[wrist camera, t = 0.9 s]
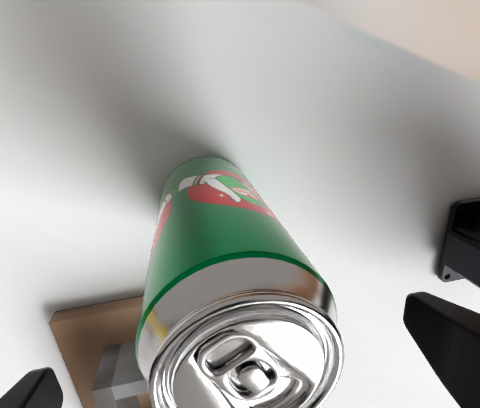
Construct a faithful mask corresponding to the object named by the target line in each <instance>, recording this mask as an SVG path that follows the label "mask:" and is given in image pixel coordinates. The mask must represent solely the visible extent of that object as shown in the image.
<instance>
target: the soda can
mask: <svg viewBox="0 0 480 408" xmlns="http://www.w3.org/2000/svg"><path fill="white" fill-rule="evenodd" d="M135 348H136V358H137V363H138V367H139V369H140V371H141V373H142V375H143V378H144V379H145V381H146V382H147V391H148V396H149V400H150V405H151V407H152V408H319V407H320V406H321V405H322V404H323V403H324V402H325V401H326V399H327V398H328V397H329V395H330V394H331V392H332V391H333V389H334V388H335V386H336V384H337V382H338V380H339V378H340V374H341V371H342V368H343V361H344V348H343V342H342V339H341V335H340V332H339V330H338V328H337V311H336V304H335V301H334V298H333V295H332V293H331V291H330V289H329V287H328V285H327V284H326V282H325V281H324V280H323V278H322V277H321V276H320V274H319V273H318V272H317V270H316V269H315V268H314V266H313V265H312V264H311V263H310V261H309V260H308V259H307V257H306V256H305V255H304V253H303V252H302V251H301V249H300V248H299V247H298V245H297V244H296V243H295V241H294V240H293V239H292V238H291V236H290V235H289V234H288V232H287V231H286V230H285V228H284V227H283V226H282V224H281V223H280V222H279V220H278V219H277V218H276V217H275V215H274V214H273V213H272V211H271V210H270V209H269V207H268V206H267V205H266V203H265V202H264V201H263V199H262V198H261V197H260V196H259V194H258V193H257V192H256V190H255V189H254V188H253V186H252V185H251V184H250V182H249V181H248V180H247V178H246V177H245V176H244V175H243V173H242V172H241V171H240V170H239V169H238V168H237V167H236V166H235V165H233V164H231V163H230V162H228V161H226V160H223V159H220V158H216V157H199V158H195V159H192V160H189V161H187V162H185V163H183V164H182V165H180V166H179V167H177V168H176V169H175V170H174V171H173V172H172V173H171V175H170V176H169V177H168V179H167V181H166V182H165V185H164V188H163V191H162V196H161V202H160V207H159V213H158V218H157V224H156V230H155V235H154V241H153V246H152V252H151V257H150V263H149V268H148V274H147V279H146V285H145V290H144V296H143V301H142V307H141V312H140V318H139V323H138V329H137V334H136V340H135Z"/></svg>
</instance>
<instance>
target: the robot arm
mask: <svg viewBox="0 0 480 408" xmlns="http://www.w3.org/2000/svg"><path fill="white" fill-rule="evenodd" d="M438 278H439V279H440V280H442V281H443V282H449V281H454V280H459V279H464V278H465V279H467V280H468V281H470V282H471V283H473V284H474V285H476V286H477V287H479V288H480V198H475V199H469V200H463V201H458V202H455V203H454V204H453V205H452V207H451V210H450V215H449V220H448V225H447V230H446V235H445V240H444V245H443V250H442V255H441V260H440V265H439V270H438ZM403 320H404V324H405V326H406V328H407V330H408V331H409V333H410V334H411V336H412V337H413V339H414V341H415V342H416V344H417V345H418V347H419V348H420V350H421V351H422V353H423V355H424V356H425V358H426V359H427V361H428V362H429V364H430V365H431V367H432V369H433V370H434V372H435V373H436V375H437V376H438V378H439V379H440V381H441V382H442V383H443V385H444V386H445V388H446V389H447V390H448V392H449V393H450V394H451V396H452V397H453V398H454V399H455V401H456V402H457V403H458V405H459V406H460V407H461V408H480V314H479V313H477V312H474V311H472V310H469V309H466V308H464V307H461V306H459V305H456V304H454V303H451V302H449V301H446V300H444V299H441V298H439V297H436V296H434V295H431V294H429V293H426V292H416V293H411V294H408V296H407V297H406V302H405V308H404V315H403ZM62 402H63V393H62V389H61V387H60V385H59V382H58V380H57V378H56V375H55V373H54V371H53V369H51V368H50V367H46V368H41V369H36V370H32V371H30V372H28V373H27V374H26V375H25V376H24V377H23V378H22V379H21V380H19V381H18V382H17V383H16V384H15V385H14V386H13V387H12V388H11V389H10V390H9V391H8V392H7V393H6V394H4V395H3V396H2V397H1V398H0V408H61V407H62Z"/></svg>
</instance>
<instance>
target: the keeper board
mask: <svg viewBox="0 0 480 408" xmlns="http://www.w3.org/2000/svg"><path fill="white" fill-rule="evenodd" d="M142 301H143V296H140V297H135V298H129V299H124V300H118V301H113V302H107V303H101V304H96V305H90V306H85V307H79V308H74V309H68V310H63V311H57V312H55V314H54V316H53V317H52V319H51V321H50V323H49V325H50V327H51V330H52V332H53V335H54V337H55V339H56V342H57V344H58V347H59V349H60V352H61V354H62V357H63V359H64V362H65V364H66V367H67V369H68V371H69V374H70V376H71V379H72V381H73V384H74V386H75V389H76V391H77V394H78V396H79V398H80V401H81V403H82V406H83V408H152V407H151V405H150V400H149V396H148V391H147V382H146V381H145V379H144V378H143V375H142V373H141V371H140V369H139V367H138V363H137V358H136V348H135V340H136V334H137V329H138V323H139V318H140V312H141V307H142Z"/></svg>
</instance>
